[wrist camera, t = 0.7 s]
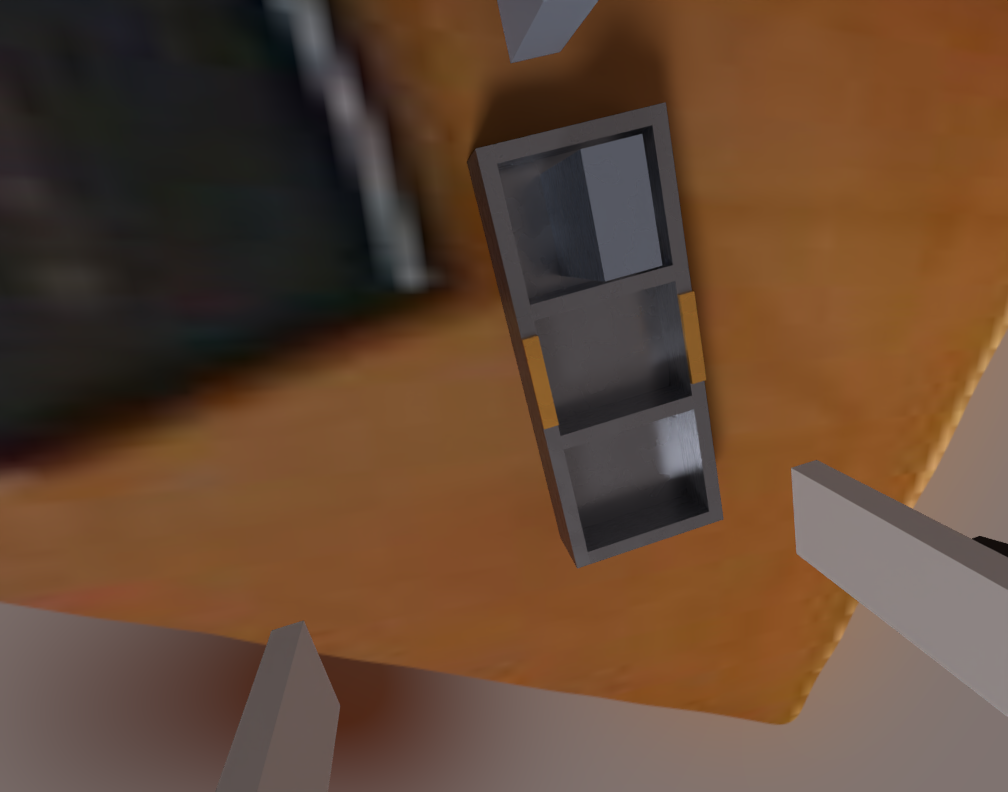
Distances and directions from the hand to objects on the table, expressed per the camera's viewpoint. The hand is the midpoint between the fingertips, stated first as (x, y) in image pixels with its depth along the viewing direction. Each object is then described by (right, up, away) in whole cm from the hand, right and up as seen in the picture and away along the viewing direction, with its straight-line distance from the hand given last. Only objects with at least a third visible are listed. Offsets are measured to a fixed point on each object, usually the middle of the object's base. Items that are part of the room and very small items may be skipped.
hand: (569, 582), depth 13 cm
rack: (+5, +8, +24) cm, 26 cm away
